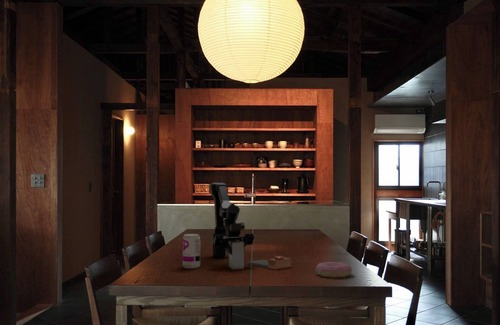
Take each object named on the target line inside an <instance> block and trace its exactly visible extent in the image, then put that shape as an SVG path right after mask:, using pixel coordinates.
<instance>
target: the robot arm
mask: <svg viewBox="0 0 500 325" xmlns="http://www.w3.org/2000/svg"><path fill="white" fill-rule="evenodd" d="M227 186H228V185H227V184H226V183H224V182H211V183H210V184H209V186H208V188H209V189H208V190H209V192H210V196H211V197H212V199H213V203H214V204H213V205H214V221H215V227H214V228H213V230H212V234H211V238H210V245H211V246H212V256H211V257H212V258H225V257H227V256H228V255H229V254H230V255H231V254H232V253H231V248H230V245H229V241H232V239H238V240H240V241H242V242H244V250H245V248H246V247H247V246H249V245H253V243H254V239H255V235H254V233H252V232H251V233H250V232H249V233H247V232H246V233H244V236H241V235H242V234H241V231H245V227H246V226H245V222H238V223H237V221H238V218H239V214H240V211H241V209H240V207H239V206H238V205H236V204H235V203H232V202H231V201H230V197H229V195H228V194H229V192H228V189H227V188H228V187H227Z"/></svg>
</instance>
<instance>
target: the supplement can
mask: <svg viewBox="0 0 500 325" xmlns="http://www.w3.org/2000/svg"><path fill="white" fill-rule="evenodd" d="M182 267H183V268H184V269H197V268H199V267H201V236H200V234H199V233H198V234H197V233H186V234H184V235H183V237H182Z"/></svg>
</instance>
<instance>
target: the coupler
mask: <svg viewBox="0 0 500 325" xmlns="http://www.w3.org/2000/svg"><path fill="white" fill-rule="evenodd" d="M291 261H292V258H290V257H285V256H282V255H275V256H274V258H271V259H259V260H258V259H257V260H251V261H247V265H248V264H249V266H253V265H255V267H260V268H264V267H265V269H269V268H270V269H271V270H275V271H276V270H282V269H287V268H291V267H292V262H291Z"/></svg>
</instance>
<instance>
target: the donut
mask: <svg viewBox="0 0 500 325" xmlns="http://www.w3.org/2000/svg"><path fill="white" fill-rule="evenodd" d="M315 272H316V274H317V275H318V276H321V277H324V278H332V279H333V278H334V279H336V278H337V279H339V278H340V279H343V278H346V277H349V276H350V275H351V274H352V267H351V266H350V265H349V264H348V263H344V262H341V261H340V262H339V261H325V262H319V263H318V264H317V265H316V267H315Z"/></svg>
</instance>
